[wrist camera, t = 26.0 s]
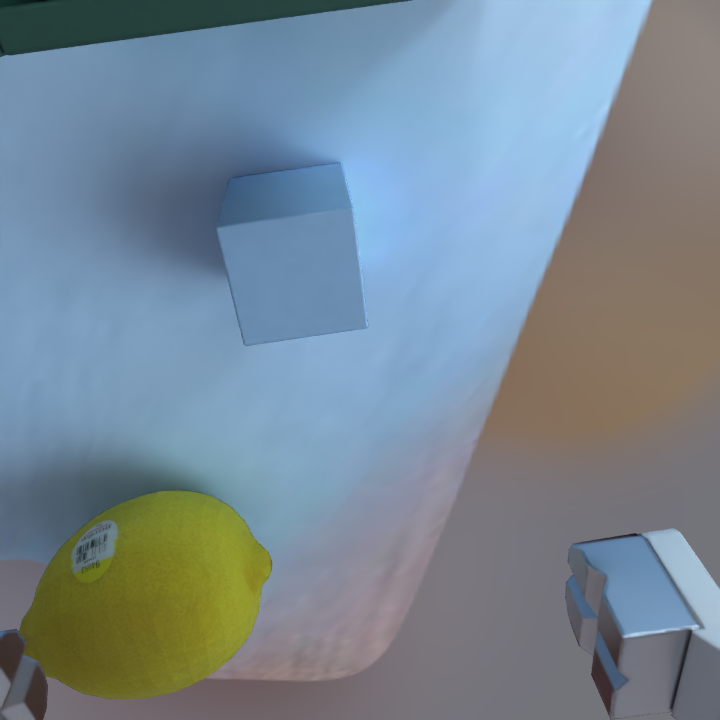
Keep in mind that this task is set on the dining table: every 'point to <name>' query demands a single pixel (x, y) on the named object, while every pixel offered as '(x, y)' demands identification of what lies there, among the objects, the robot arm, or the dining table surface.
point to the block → (292, 254)
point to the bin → (138, 18)
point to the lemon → (147, 597)
